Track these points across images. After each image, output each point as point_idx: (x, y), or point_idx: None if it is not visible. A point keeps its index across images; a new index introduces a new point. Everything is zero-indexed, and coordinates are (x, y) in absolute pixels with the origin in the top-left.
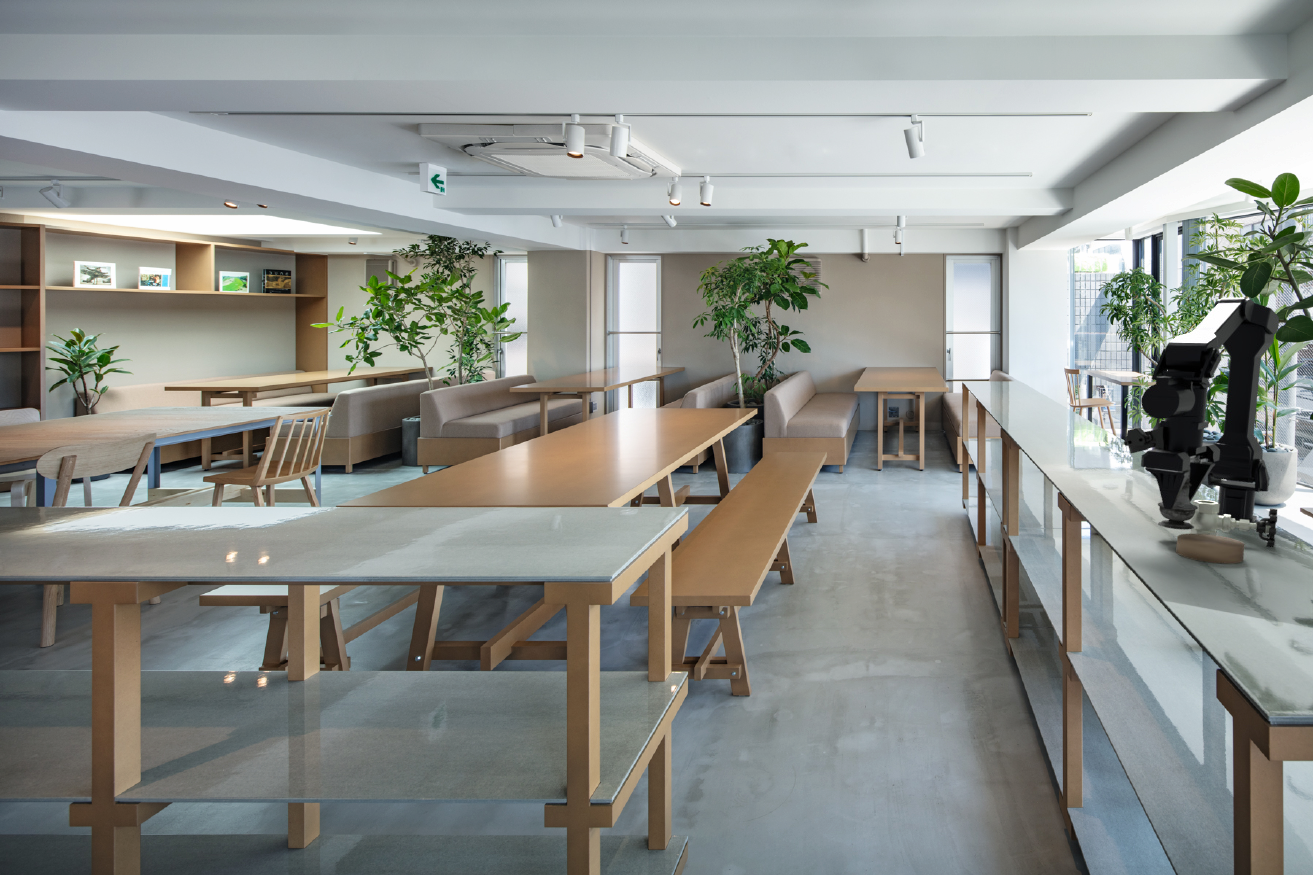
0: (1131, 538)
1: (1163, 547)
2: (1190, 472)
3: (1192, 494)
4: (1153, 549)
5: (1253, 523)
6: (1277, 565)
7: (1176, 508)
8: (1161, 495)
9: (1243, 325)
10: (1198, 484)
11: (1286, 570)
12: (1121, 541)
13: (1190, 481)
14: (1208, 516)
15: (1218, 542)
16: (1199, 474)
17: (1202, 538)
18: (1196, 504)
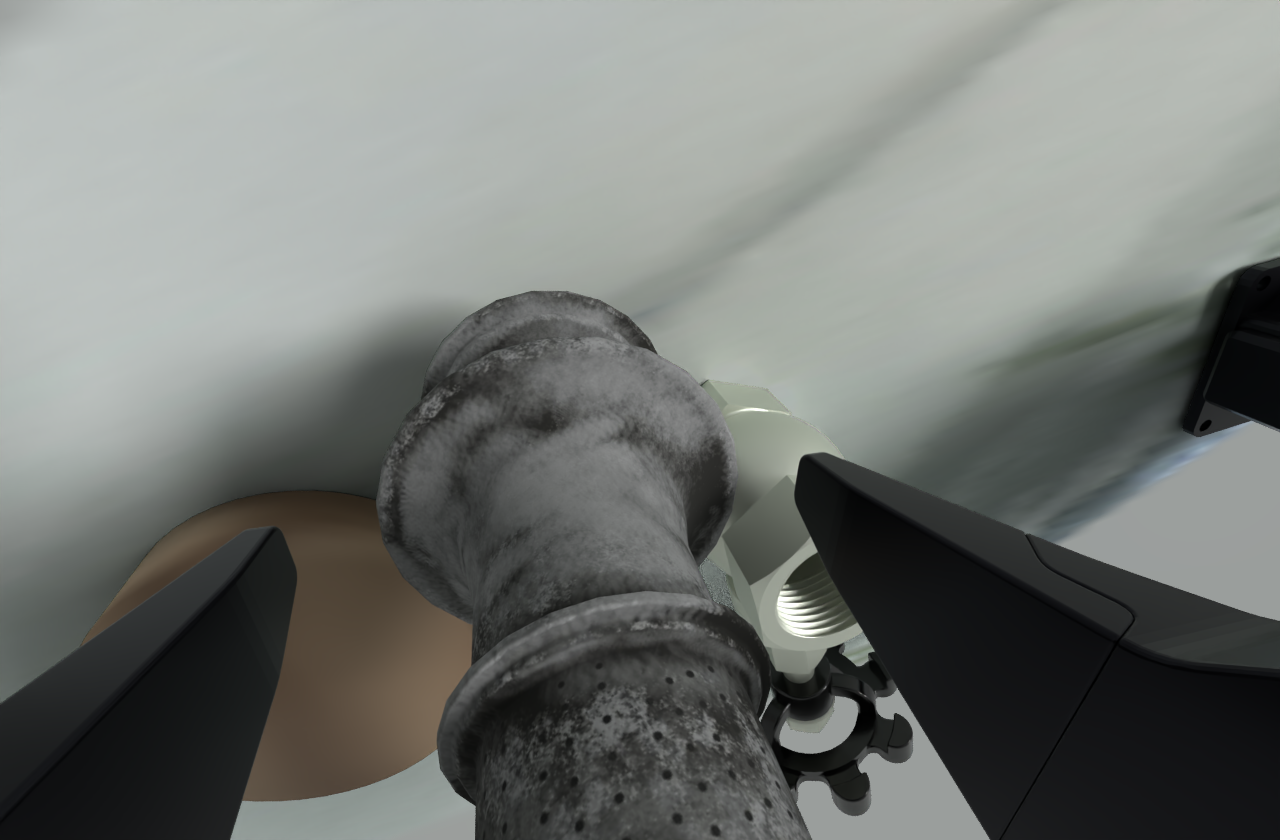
0: (279, 140)
1: (246, 417)
2: (1076, 761)
3: (831, 572)
4: (101, 408)
5: (798, 675)
6: (440, 771)
7: (403, 569)
8: (88, 648)
9: None
10: (908, 695)
11: (387, 810)
12: (55, 126)
13: (947, 656)
14: (720, 566)
15: (292, 727)
16: (1015, 821)
17: (303, 655)
18: (773, 546)
